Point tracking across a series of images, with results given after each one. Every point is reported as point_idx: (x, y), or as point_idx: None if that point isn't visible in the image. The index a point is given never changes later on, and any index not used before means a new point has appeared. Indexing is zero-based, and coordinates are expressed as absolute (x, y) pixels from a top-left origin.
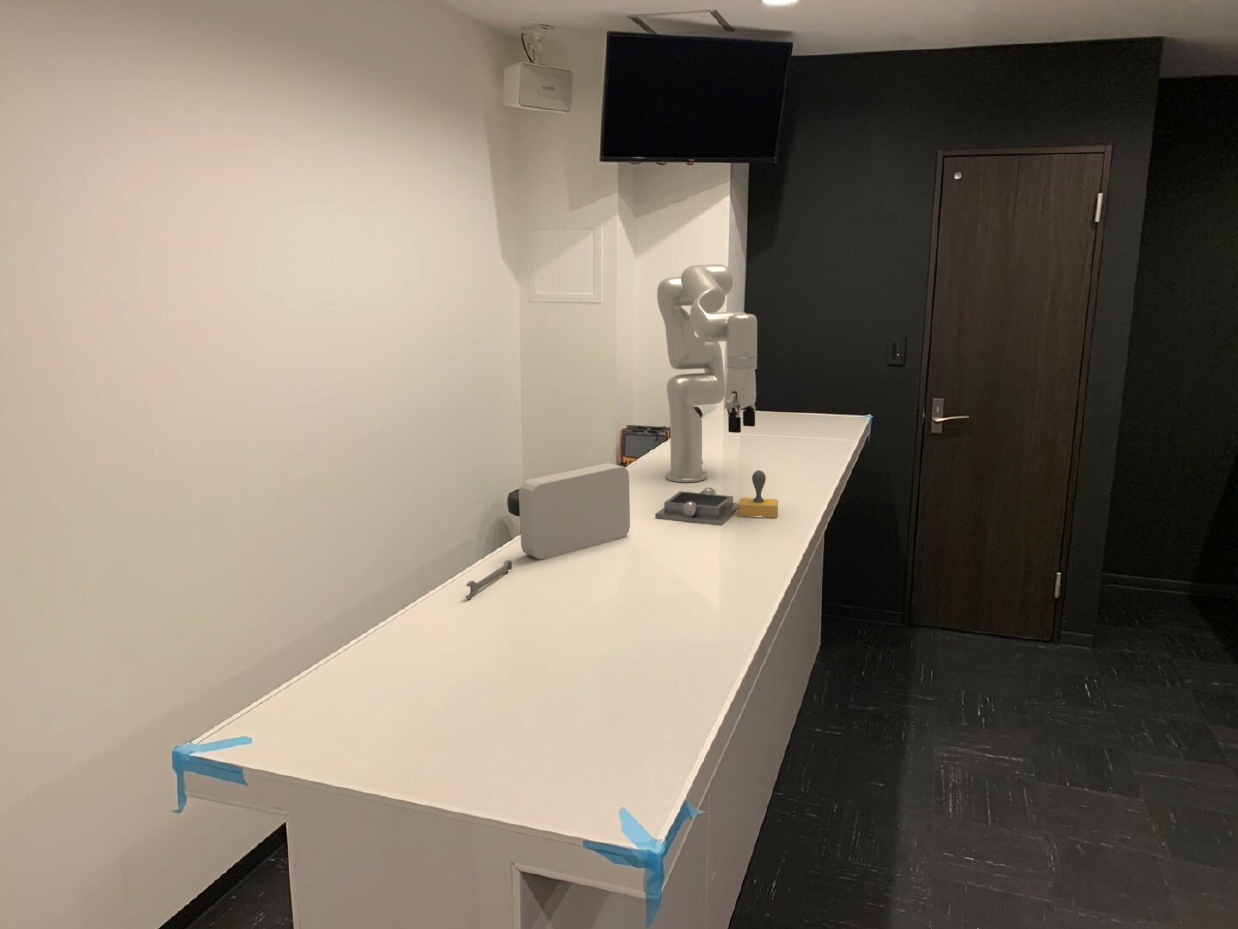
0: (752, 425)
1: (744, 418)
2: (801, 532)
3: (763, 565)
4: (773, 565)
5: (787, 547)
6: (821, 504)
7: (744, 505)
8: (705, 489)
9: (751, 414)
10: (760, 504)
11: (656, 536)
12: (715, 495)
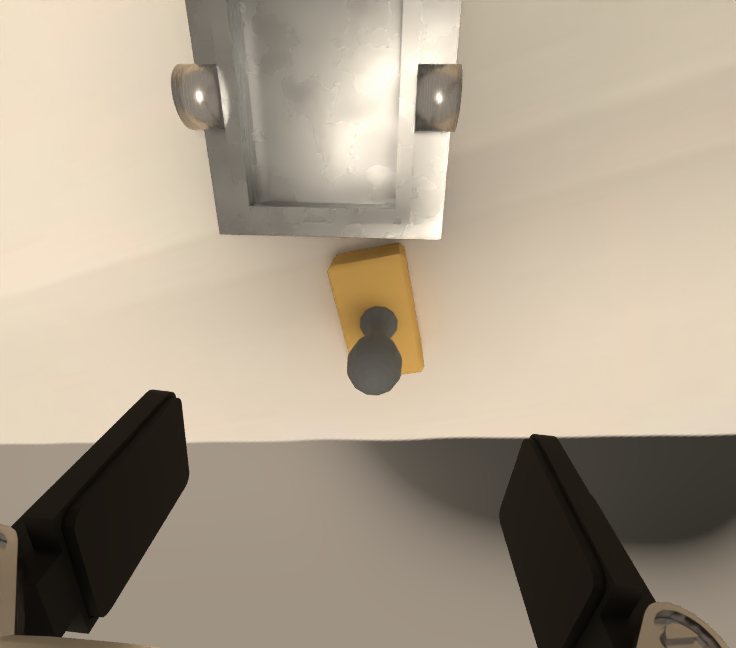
0: (500, 513)
1: (550, 506)
2: (267, 430)
3: (13, 400)
4: (27, 416)
5: None
6: None
7: (331, 286)
8: (424, 87)
9: (544, 621)
10: (346, 336)
11: (3, 51)
12: (399, 150)
